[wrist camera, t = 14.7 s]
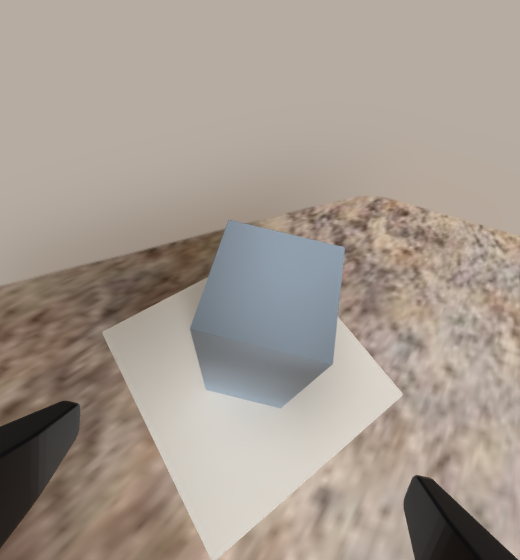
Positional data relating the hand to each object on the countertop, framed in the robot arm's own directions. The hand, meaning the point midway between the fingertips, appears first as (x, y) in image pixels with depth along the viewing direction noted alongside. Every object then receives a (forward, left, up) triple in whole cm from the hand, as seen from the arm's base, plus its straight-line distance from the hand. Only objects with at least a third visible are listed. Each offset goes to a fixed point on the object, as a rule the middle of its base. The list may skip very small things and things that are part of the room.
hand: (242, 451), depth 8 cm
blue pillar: (+3, -3, -8) cm, 9 cm away
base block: (+3, -3, -12) cm, 13 cm away
